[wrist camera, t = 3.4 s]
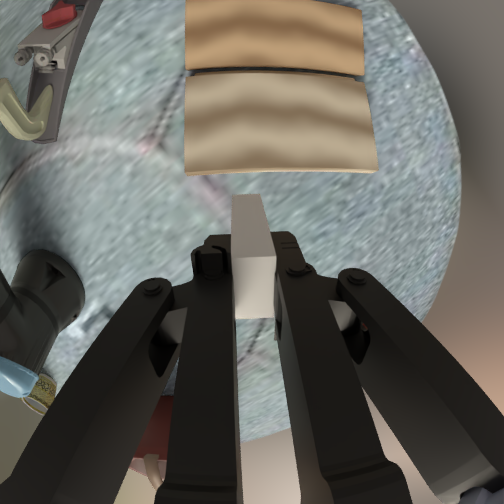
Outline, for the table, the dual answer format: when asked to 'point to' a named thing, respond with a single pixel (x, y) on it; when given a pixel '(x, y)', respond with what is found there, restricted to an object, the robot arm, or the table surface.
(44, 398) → the ceramic cup
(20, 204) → the table surface
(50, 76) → the hand plane
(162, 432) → the bucket
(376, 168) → the ash plank
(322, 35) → the oak plank
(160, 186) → the table surface
